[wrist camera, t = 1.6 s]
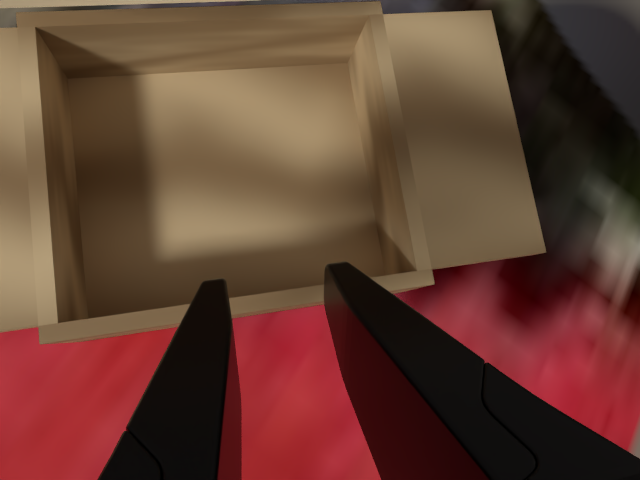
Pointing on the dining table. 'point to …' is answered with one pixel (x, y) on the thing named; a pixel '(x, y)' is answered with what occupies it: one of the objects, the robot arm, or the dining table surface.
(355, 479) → the dining table surface
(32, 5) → the flap
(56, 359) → the dining table surface
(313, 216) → the open box
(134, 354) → the dining table surface
